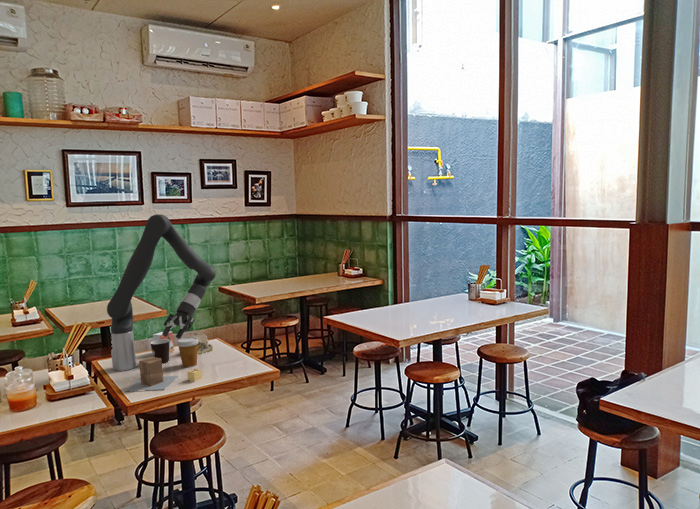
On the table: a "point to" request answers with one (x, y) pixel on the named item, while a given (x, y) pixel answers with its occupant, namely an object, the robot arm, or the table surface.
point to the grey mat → (160, 386)
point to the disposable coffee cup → (188, 351)
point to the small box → (169, 337)
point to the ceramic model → (202, 343)
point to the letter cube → (194, 374)
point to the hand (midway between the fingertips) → (170, 336)
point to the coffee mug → (161, 349)
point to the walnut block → (151, 371)
